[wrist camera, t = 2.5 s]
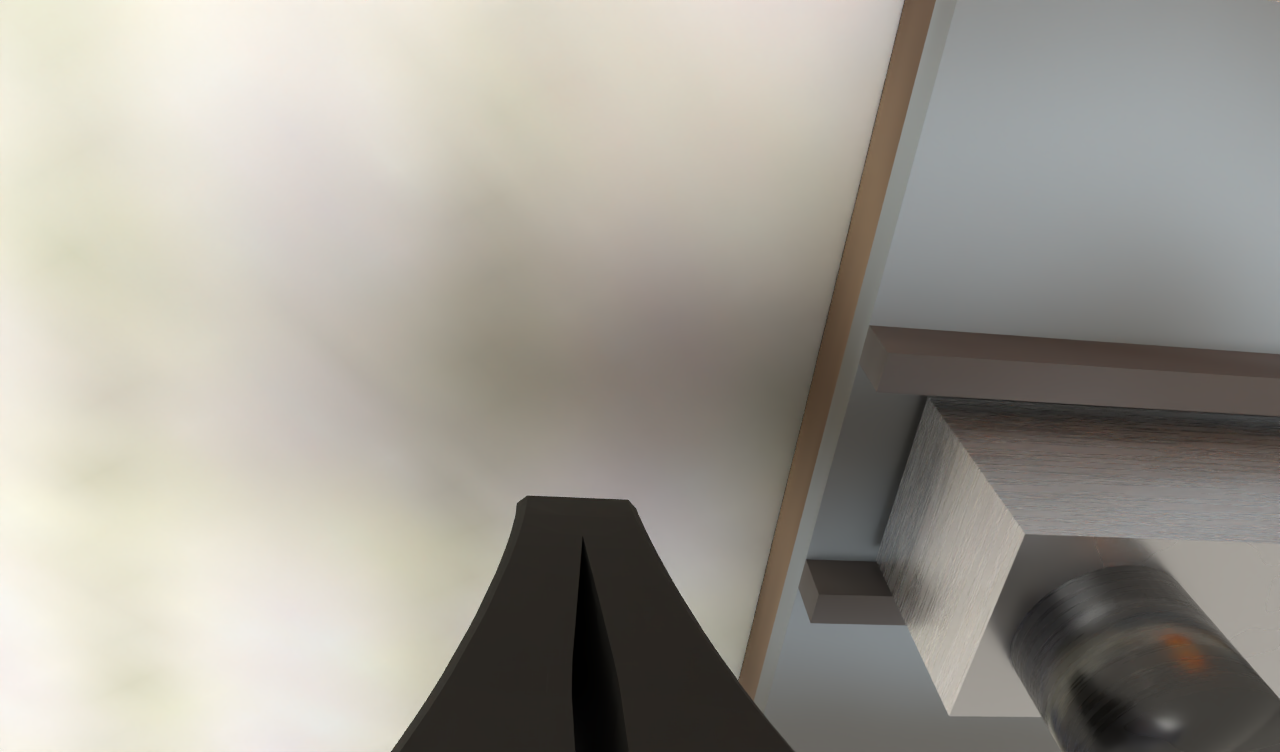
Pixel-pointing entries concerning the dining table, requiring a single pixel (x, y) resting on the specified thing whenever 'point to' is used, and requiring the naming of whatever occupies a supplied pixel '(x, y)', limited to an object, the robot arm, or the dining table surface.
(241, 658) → the dining table surface
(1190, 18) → the slide bolt latch board
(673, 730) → the robot arm
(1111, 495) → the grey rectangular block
